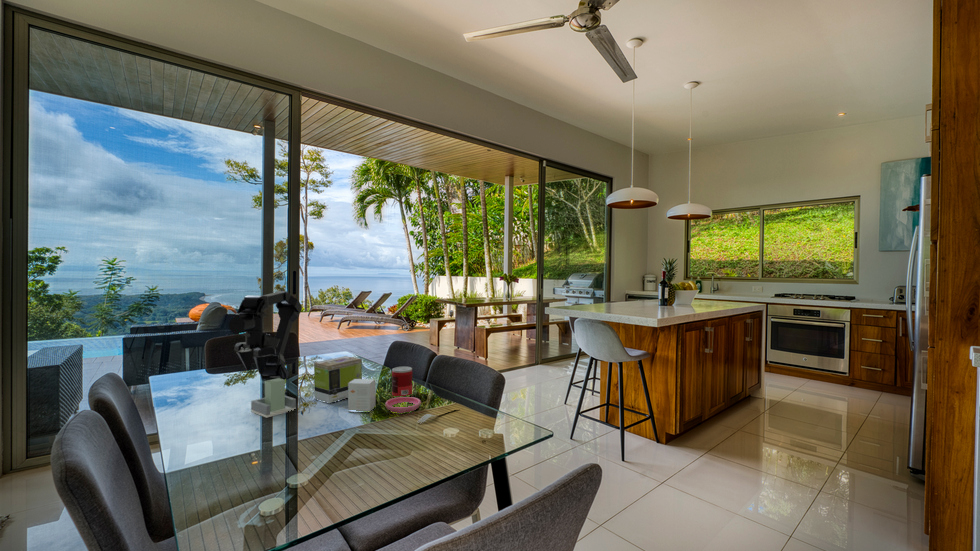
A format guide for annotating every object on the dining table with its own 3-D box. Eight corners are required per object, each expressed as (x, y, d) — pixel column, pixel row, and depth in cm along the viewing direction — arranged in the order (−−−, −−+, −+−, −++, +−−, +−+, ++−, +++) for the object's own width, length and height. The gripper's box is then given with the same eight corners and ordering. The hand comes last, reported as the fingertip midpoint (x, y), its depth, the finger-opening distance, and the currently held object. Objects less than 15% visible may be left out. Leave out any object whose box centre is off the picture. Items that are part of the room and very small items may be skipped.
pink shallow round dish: (401, 418, 144) (401, 409, 144) (377, 411, 151) (377, 402, 151) (427, 409, 154) (427, 400, 154) (404, 402, 161) (404, 394, 161)
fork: (461, 416, 154) (462, 409, 154) (419, 427, 137) (420, 418, 137) (456, 415, 155) (456, 407, 155) (413, 425, 139) (414, 416, 139)
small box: (375, 408, 154) (375, 379, 154) (369, 413, 148) (370, 383, 148) (354, 407, 155) (354, 378, 155) (347, 412, 149) (347, 382, 149)
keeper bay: (251, 411, 149) (251, 400, 149) (280, 404, 157) (280, 393, 157) (266, 417, 143) (266, 406, 143) (295, 409, 152) (295, 398, 152)
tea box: (347, 390, 175) (347, 355, 175) (362, 395, 169) (362, 358, 169) (313, 399, 163) (313, 361, 163) (329, 405, 157) (329, 365, 157)
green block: (264, 409, 149) (264, 381, 149) (278, 405, 153) (278, 378, 153) (270, 411, 147) (270, 382, 147) (284, 407, 151) (284, 379, 151)
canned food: (415, 394, 171) (415, 367, 171) (405, 400, 163) (405, 371, 163) (398, 392, 173) (399, 365, 173) (388, 398, 166) (388, 370, 166)
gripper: (289, 329, 157) (289, 371, 158) (263, 325, 168) (263, 364, 168) (259, 333, 148) (259, 377, 148) (233, 328, 159) (233, 370, 159)
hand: (254, 372), depth 156 cm, fingers open, 9 cm apart
